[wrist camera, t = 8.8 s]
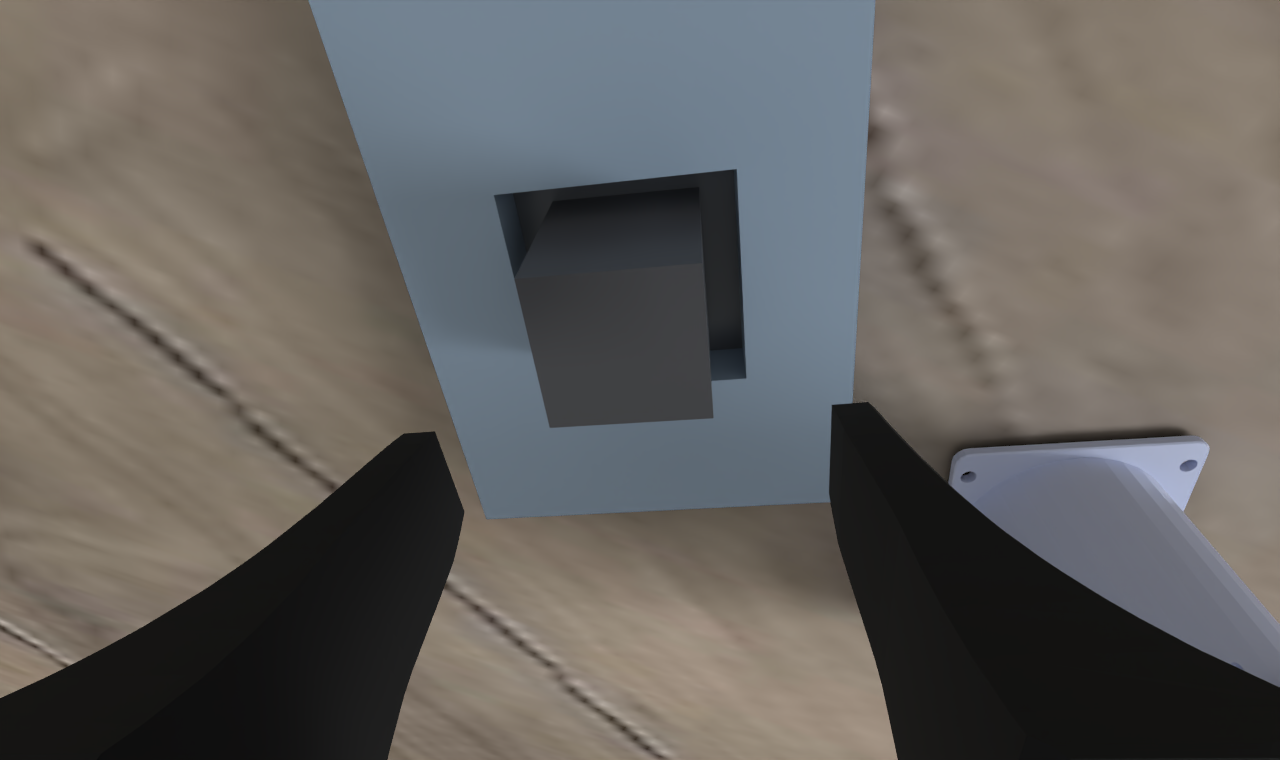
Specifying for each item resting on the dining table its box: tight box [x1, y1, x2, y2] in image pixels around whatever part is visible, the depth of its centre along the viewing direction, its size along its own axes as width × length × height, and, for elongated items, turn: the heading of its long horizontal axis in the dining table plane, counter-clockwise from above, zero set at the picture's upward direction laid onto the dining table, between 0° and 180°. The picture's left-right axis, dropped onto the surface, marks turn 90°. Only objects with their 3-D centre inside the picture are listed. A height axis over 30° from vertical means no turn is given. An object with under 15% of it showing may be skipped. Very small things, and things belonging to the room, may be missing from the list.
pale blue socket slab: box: [308, 0, 875, 519], centre depth 19 cm, size 16×12×2 cm
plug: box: [514, 187, 714, 428], centre depth 17 cm, size 4×4×5 cm
